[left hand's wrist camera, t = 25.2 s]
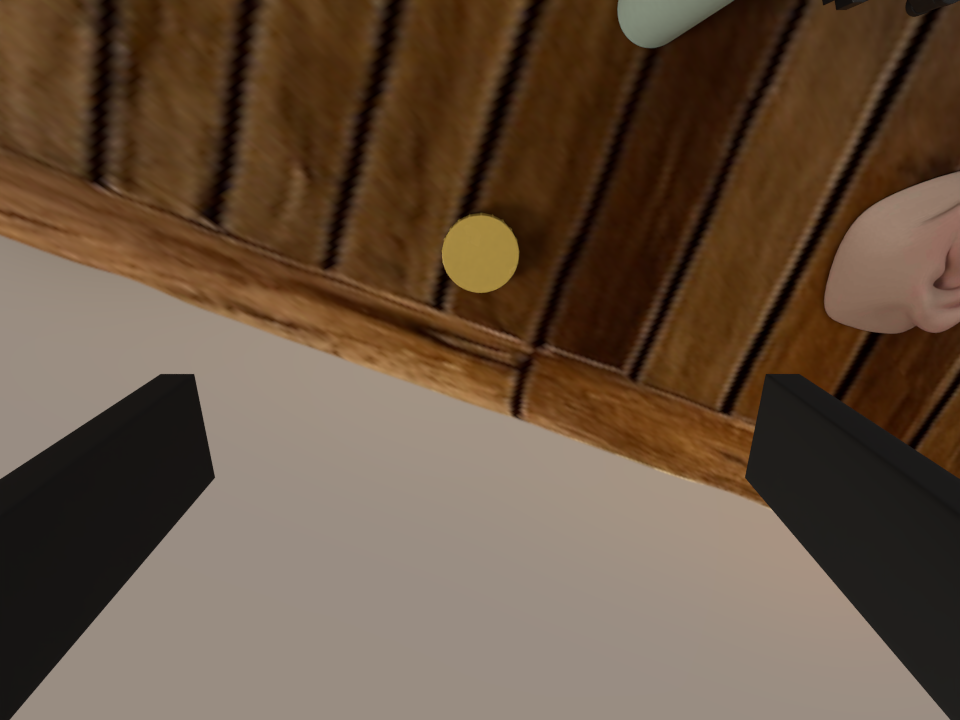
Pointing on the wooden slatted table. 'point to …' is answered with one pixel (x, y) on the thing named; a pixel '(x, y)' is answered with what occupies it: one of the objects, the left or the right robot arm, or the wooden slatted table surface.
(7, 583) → the left robot arm
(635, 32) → the jar
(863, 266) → the anatomical model
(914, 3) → the right robot arm
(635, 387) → the wooden slatted table surface
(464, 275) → the lid
